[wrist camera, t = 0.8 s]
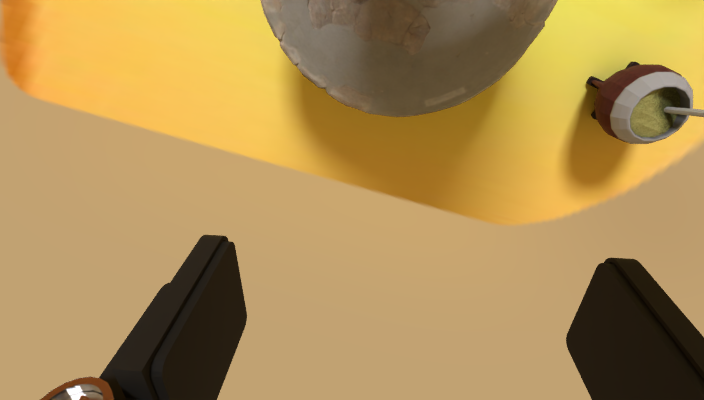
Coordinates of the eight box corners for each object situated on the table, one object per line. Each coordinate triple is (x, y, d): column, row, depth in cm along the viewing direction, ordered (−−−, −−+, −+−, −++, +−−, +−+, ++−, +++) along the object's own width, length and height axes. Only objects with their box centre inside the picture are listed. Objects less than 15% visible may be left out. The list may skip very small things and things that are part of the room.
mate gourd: (563, 108, 42) (642, 166, 29) (614, 35, 38) (731, 65, 25) (621, 134, 43) (722, 202, 30) (676, 66, 39) (820, 109, 26)
